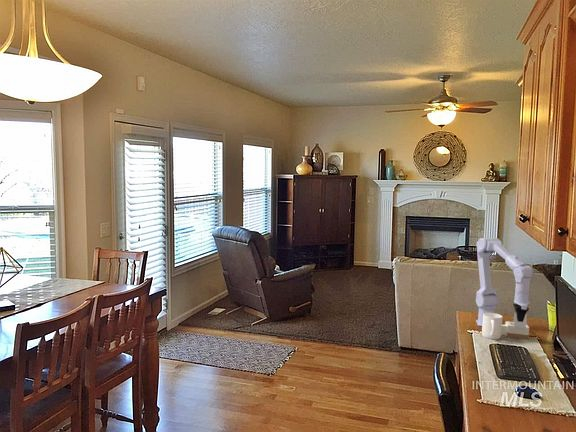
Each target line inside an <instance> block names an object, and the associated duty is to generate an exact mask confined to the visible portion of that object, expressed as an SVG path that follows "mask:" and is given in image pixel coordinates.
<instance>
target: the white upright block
mask: <svg viewBox="0 0 576 432" xmlns="http://www.w3.org/2000/svg"><path fill="white" fill-rule="evenodd" d="M527 319H528V313H526V315H525V317H524V320H523V322H518V320H517V312H516V311H515V310H514V314H513V321H512V322H513V327H515V328H523V329H526V324H527V322H528V321H527Z"/></svg>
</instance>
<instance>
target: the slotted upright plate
mask: <svg viewBox="0 0 576 432" xmlns="http://www.w3.org/2000/svg"><path fill="white" fill-rule="evenodd" d="M513 322H514V321H507V320H506V321H505V323H504V324H503V323H502V330H501V336H506V337H507V338H514V339H522V340H529V337H530V336H529V334H530V326H529V325H528V324H527V323H526V329H523V328H515V327H513Z"/></svg>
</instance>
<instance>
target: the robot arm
mask: <svg viewBox="0 0 576 432" xmlns="http://www.w3.org/2000/svg"><path fill="white" fill-rule="evenodd" d="M475 244H476V251H477V254H476V255H477V264H478V274H479V275H478V276H479V284H480V285H479V286H480V288H479V289H478V290H477V291H476V295H475V303H476V306H477V308H478V316H477V319H475V322H476V324H477V326H478V327H482V324H483V314H484V313H495V309H496V308H497V306H498V305H499V303H500V301H499V297H498V295H497V291H496V290H495V289H494V288H493V284H492V274H491V273H492V271H491V262H490V257H491V255H493V254H494V253H496V254H498V255H499V256H500V257H501V258H503V259H504V261H505V265H506V266H507V267H508V268H509V269H511V270H512V272H513V276H514V280H515V290H514V291H515V292H514V299H513V302H514V303H513V308H514V312H515V311H516V312H517V320H518V322H523V320H524V317H525V315H526V313H527V312H528V311H529V309H530V308H529V307H528V305H531V304H532V302H531V301H529V300H530V299H529V297H530V286H531V279H532V278H533V277H534V274H535V272H534V271H535V270H534V269H533V267H532V266H531V265H528V264H525V263H524V262H523V261H521V260H520V258H519V257H518V256H517V255H514V254H513V255H512V254H511V253H510V252H509V251H508V250H507V248H505V246H504V245H503V241H501V240H500V239H499V238H498V237H485V238H484V237H481V238H479V239H478V240H477V241H476V243H475ZM527 314H528V313H527Z"/></svg>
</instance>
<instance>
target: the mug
mask: <svg viewBox="0 0 576 432" xmlns="http://www.w3.org/2000/svg"><path fill="white" fill-rule="evenodd" d="M502 324H503V315H501V314H499V313H495V312H494V313H484V314H483V324H482V326H481V336H482V337H483V336H484V338H486V339H489V340H500V339H501V337H502V335H501V330H502Z"/></svg>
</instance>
